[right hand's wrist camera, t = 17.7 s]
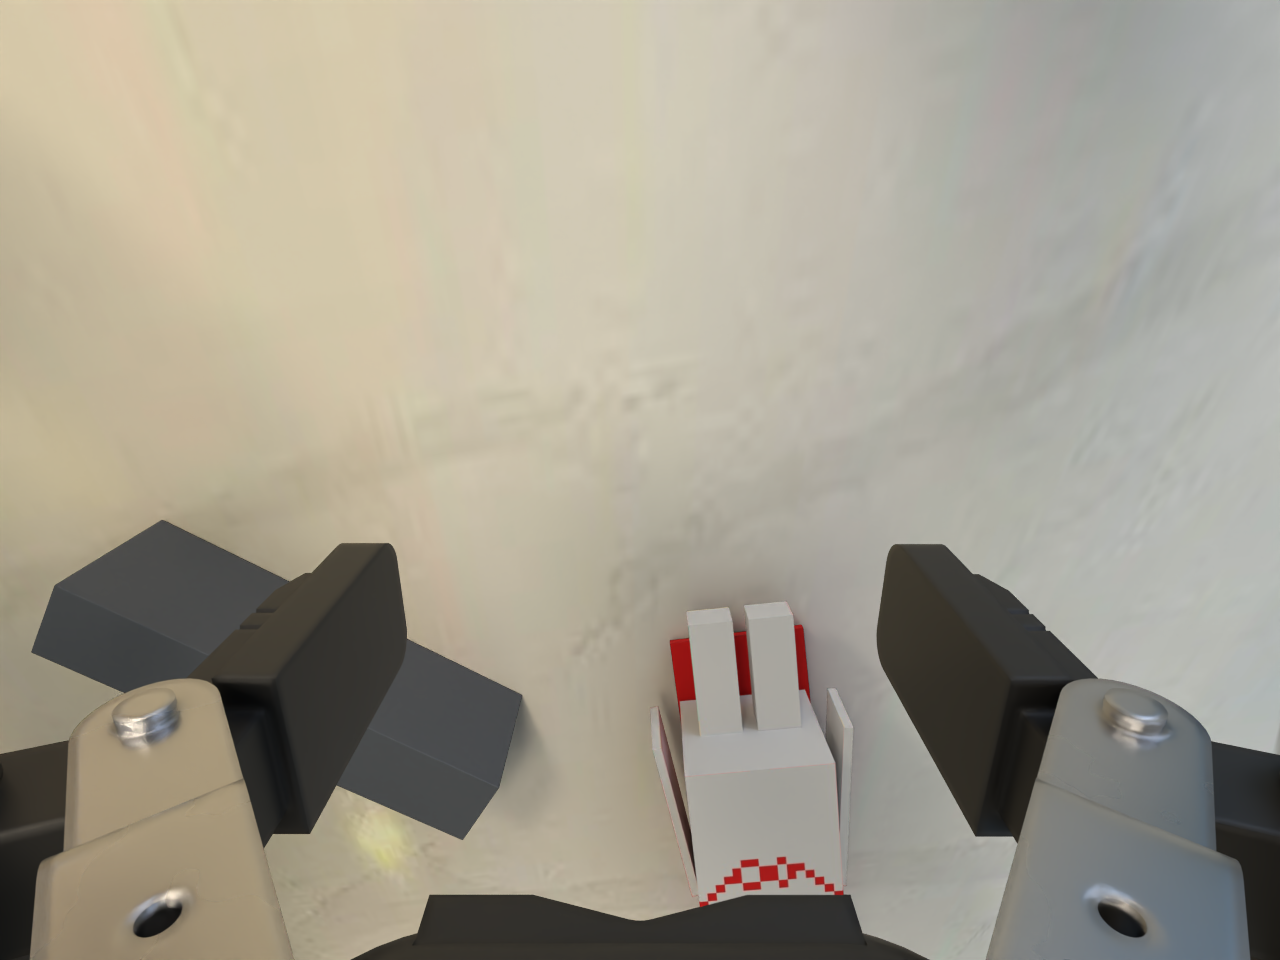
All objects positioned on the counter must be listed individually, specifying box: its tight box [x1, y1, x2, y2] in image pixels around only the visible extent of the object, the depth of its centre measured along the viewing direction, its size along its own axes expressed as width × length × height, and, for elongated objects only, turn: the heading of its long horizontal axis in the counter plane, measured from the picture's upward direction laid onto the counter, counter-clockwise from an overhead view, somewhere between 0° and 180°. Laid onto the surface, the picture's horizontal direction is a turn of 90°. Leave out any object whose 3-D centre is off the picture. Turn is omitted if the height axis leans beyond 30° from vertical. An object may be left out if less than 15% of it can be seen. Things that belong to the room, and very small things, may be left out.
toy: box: [650, 601, 853, 907], centre depth 46 cm, size 12×13×30 cm
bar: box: [31, 520, 522, 840], centre depth 43 cm, size 26×5×9 cm, turn 59°
